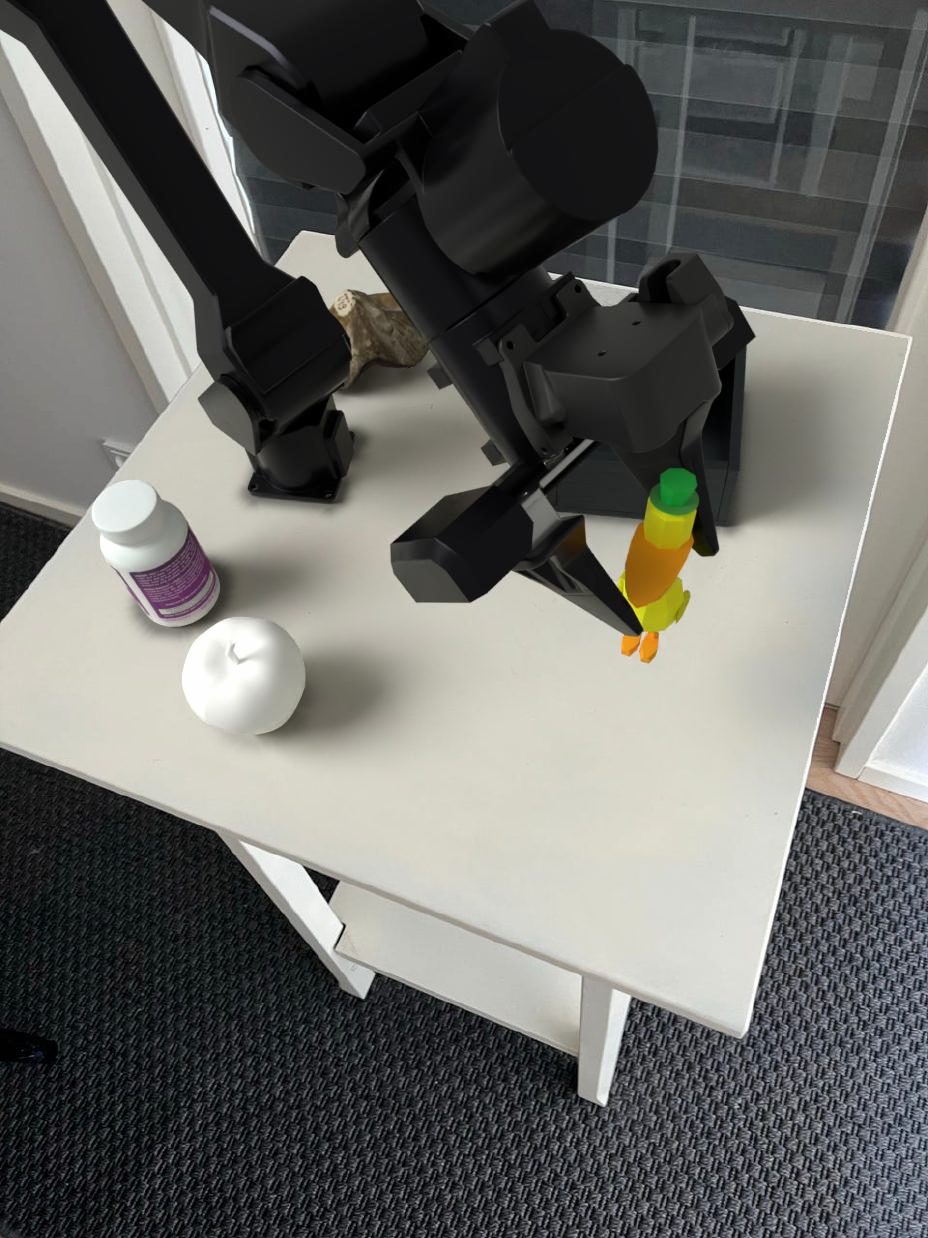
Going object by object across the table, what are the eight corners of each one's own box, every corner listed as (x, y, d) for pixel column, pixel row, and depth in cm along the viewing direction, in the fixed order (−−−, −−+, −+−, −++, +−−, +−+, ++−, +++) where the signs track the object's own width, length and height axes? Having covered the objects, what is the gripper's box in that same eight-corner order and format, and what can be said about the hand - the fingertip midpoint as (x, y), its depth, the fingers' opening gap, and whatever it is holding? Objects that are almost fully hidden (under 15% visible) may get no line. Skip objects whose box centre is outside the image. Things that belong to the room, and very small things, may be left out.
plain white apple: (276, 775, 55) (235, 715, 48) (183, 726, 57) (132, 662, 50) (341, 681, 57) (311, 612, 51) (250, 638, 60) (210, 566, 53)
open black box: (546, 510, 63) (544, 454, 58) (570, 385, 69) (570, 325, 64) (726, 527, 61) (739, 470, 56) (735, 396, 67) (747, 335, 62)
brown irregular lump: (427, 288, 73) (308, 319, 75) (405, 257, 66) (275, 290, 68) (443, 382, 73) (324, 410, 75) (423, 360, 66) (292, 391, 68)
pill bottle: (234, 570, 63) (184, 476, 55) (203, 636, 60) (145, 547, 52) (164, 557, 64) (105, 463, 56) (129, 621, 61) (62, 532, 53)
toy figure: (651, 710, 47) (689, 564, 37) (584, 686, 48) (604, 538, 38) (689, 609, 50) (734, 450, 40) (626, 588, 51) (654, 429, 41)
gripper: (396, 392, 28) (663, 763, 33) (756, 101, 34) (935, 449, 39) (290, 447, 38) (506, 725, 42) (583, 214, 44) (743, 479, 49)
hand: (673, 593), depth 43 cm, fingers closed on toy figure, 5 cm apart
